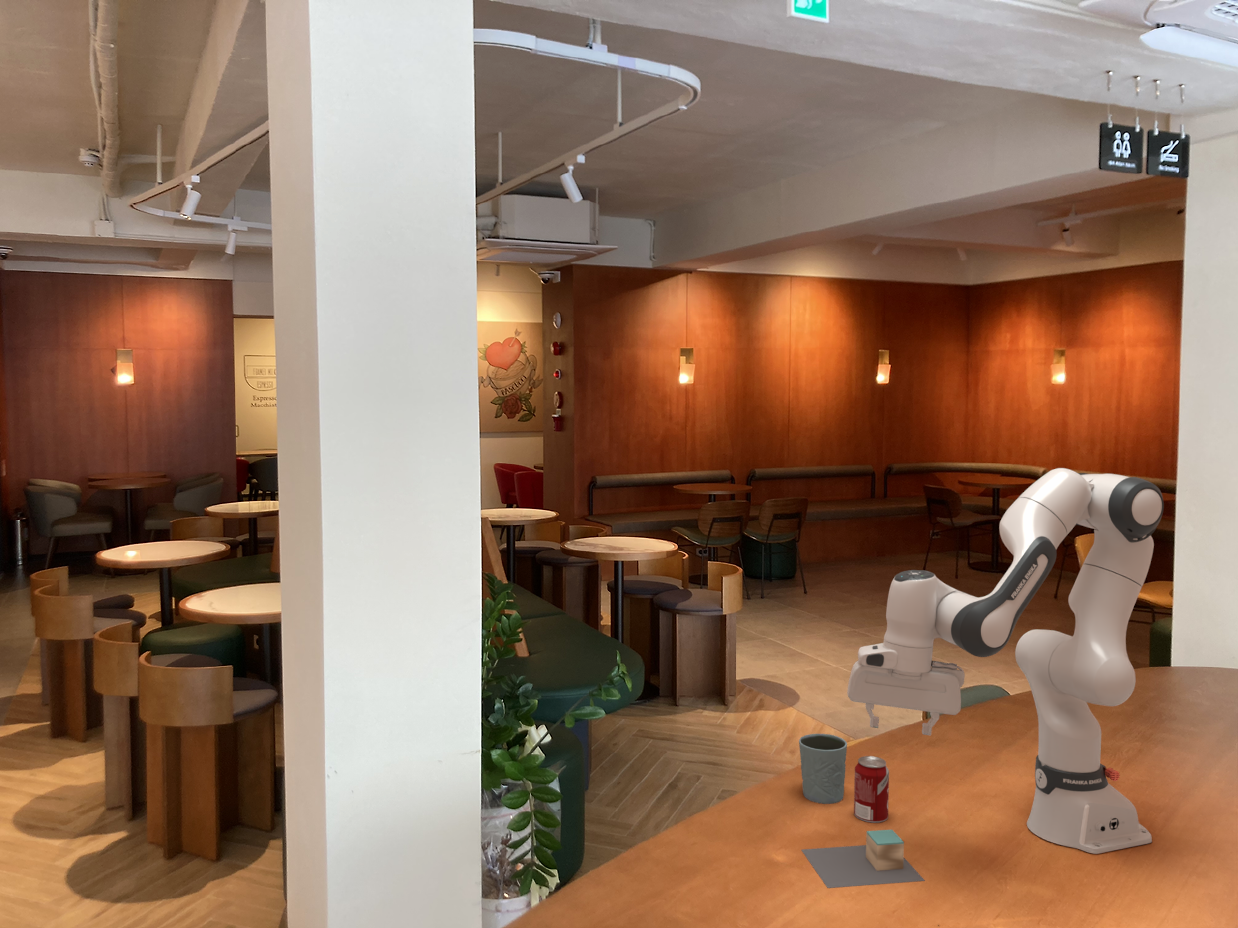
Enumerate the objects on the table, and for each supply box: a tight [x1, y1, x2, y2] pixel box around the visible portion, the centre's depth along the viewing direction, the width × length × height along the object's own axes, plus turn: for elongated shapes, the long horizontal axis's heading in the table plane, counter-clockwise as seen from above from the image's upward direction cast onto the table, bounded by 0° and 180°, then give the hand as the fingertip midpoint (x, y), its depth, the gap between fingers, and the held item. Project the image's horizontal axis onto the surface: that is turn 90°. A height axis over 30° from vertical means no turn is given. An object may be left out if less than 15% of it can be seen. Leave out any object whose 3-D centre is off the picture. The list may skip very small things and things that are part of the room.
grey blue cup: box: [798, 733, 848, 805], centre depth 203 cm, size 10×10×12 cm
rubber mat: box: [800, 844, 926, 889], centre depth 172 cm, size 18×14×1 cm
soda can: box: [853, 755, 890, 824], centre depth 192 cm, size 7×7×12 cm
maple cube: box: [865, 829, 905, 871], centre depth 172 cm, size 5×5×5 cm
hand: (900, 730), depth 175 cm, fingers open, 8 cm apart
